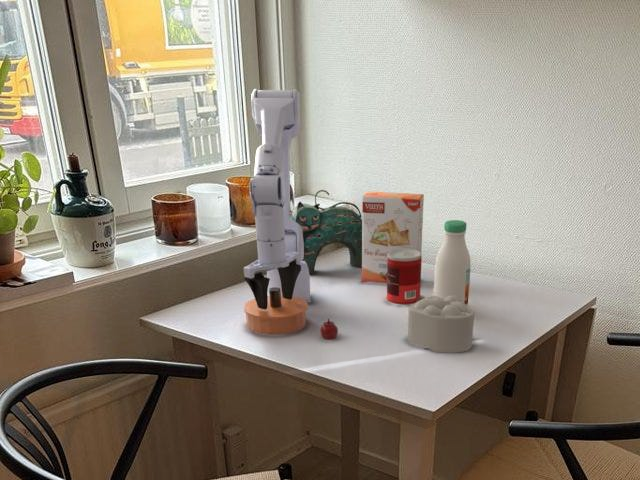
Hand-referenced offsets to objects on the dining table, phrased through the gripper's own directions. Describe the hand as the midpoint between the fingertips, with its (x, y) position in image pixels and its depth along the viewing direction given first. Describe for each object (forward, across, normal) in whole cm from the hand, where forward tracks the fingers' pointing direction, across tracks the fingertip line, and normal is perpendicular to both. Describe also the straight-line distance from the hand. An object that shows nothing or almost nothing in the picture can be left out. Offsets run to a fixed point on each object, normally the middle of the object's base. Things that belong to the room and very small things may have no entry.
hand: (275, 303), depth 155 cm
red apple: (+5, +1, -14) cm, 15 cm away
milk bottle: (+5, +29, -26) cm, 39 cm away
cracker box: (+5, +40, -2) cm, 40 cm away
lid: (+1, 0, 0) cm, 1 cm away
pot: (+5, 0, 0) cm, 5 cm away
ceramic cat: (+5, +38, +18) cm, 43 cm away
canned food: (+5, +30, -12) cm, 33 cm away
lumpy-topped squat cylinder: (+5, +14, -33) cm, 36 cm away
